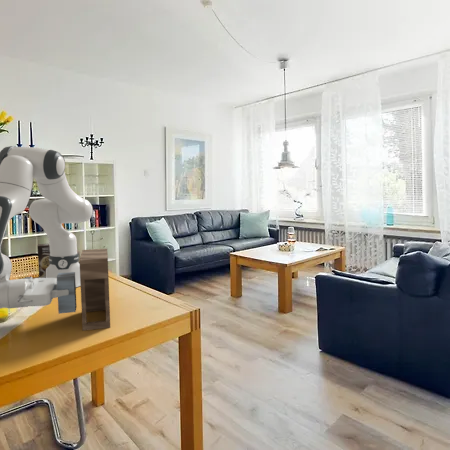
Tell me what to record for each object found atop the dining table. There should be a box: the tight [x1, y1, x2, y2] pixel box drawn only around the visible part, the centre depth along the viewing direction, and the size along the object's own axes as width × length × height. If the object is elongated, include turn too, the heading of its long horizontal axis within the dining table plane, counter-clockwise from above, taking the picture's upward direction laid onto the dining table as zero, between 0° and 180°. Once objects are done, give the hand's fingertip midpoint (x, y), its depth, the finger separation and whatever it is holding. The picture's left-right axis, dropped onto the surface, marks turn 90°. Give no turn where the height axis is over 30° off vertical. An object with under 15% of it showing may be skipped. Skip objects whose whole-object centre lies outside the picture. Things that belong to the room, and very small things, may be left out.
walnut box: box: [78, 248, 111, 332], centre depth 121 cm, size 18×8×22 cm, turn 18°
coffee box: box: [37, 243, 50, 278], centre depth 177 cm, size 9×6×16 cm
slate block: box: [57, 272, 77, 315], centre depth 118 cm, size 5×5×12 cm
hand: (69, 289), depth 119 cm, fingers closed on slate block, 5 cm apart
